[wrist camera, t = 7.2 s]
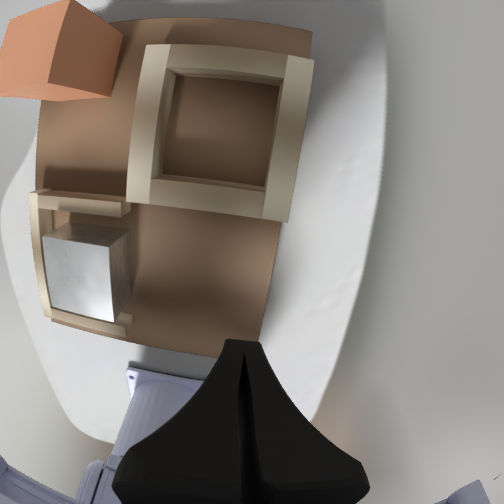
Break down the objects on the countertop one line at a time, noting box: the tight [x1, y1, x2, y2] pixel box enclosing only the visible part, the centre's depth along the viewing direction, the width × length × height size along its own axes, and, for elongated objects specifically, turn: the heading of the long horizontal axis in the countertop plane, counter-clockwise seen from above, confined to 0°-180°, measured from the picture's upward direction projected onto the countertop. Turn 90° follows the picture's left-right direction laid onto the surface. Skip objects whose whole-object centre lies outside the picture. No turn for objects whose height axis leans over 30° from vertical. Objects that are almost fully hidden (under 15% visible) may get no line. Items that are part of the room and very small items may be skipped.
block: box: [42, 221, 131, 322], centre depth 15 cm, size 4×4×3 cm
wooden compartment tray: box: [29, 17, 312, 358], centre depth 16 cm, size 21×16×4 cm
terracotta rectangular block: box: [0, 0, 123, 102], centre depth 10 cm, size 4×4×6 cm
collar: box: [126, 44, 315, 223], centre depth 13 cm, size 8×8×2 cm
